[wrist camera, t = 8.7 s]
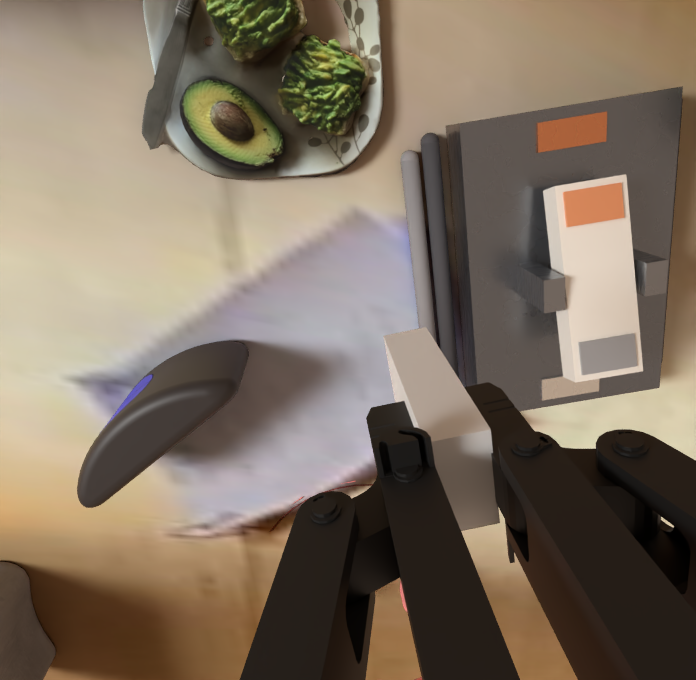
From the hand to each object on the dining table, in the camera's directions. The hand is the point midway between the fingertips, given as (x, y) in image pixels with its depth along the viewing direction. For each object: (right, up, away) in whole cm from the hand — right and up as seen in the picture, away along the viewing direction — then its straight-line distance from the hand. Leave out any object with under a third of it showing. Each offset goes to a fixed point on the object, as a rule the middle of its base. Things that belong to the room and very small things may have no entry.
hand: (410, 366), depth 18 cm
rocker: (+16, +5, +19) cm, 25 cm away
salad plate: (-8, +21, +20) cm, 30 cm away
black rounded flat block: (-17, -4, +29) cm, 34 cm away
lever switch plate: (+15, +8, +26) cm, 31 cm away
